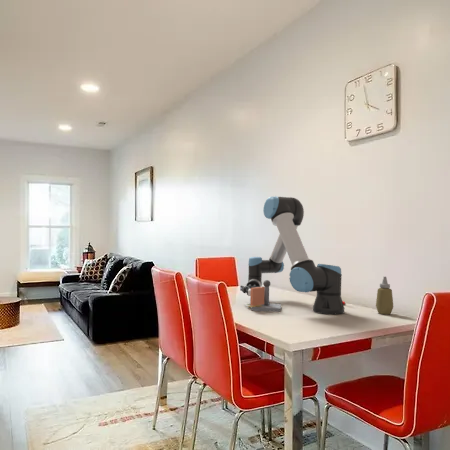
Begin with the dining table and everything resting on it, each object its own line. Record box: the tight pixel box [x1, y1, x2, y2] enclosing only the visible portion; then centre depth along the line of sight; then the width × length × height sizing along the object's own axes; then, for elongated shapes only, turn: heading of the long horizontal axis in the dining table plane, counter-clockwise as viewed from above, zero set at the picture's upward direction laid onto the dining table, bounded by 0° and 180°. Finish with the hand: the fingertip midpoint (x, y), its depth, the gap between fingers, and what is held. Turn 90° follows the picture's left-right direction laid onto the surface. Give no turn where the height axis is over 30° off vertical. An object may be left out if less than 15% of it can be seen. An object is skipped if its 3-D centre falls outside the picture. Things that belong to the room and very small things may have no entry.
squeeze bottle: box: [375, 276, 394, 315], centre depth 209 cm, size 8×8×18 cm
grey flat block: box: [246, 302, 281, 313], centre depth 216 cm, size 17×14×2 cm
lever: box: [249, 279, 271, 306], centre depth 213 cm, size 12×4×12 cm, turn 130°
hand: (249, 293), depth 211 cm, fingers closed
